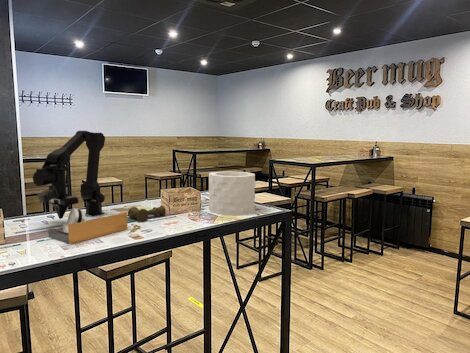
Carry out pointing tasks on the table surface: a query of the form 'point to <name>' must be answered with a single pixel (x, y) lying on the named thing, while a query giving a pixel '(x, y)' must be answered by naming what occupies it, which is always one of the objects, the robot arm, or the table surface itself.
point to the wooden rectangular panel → (91, 228)
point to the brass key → (135, 228)
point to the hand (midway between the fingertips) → (60, 218)
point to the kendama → (145, 213)
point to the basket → (231, 193)
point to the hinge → (74, 218)
